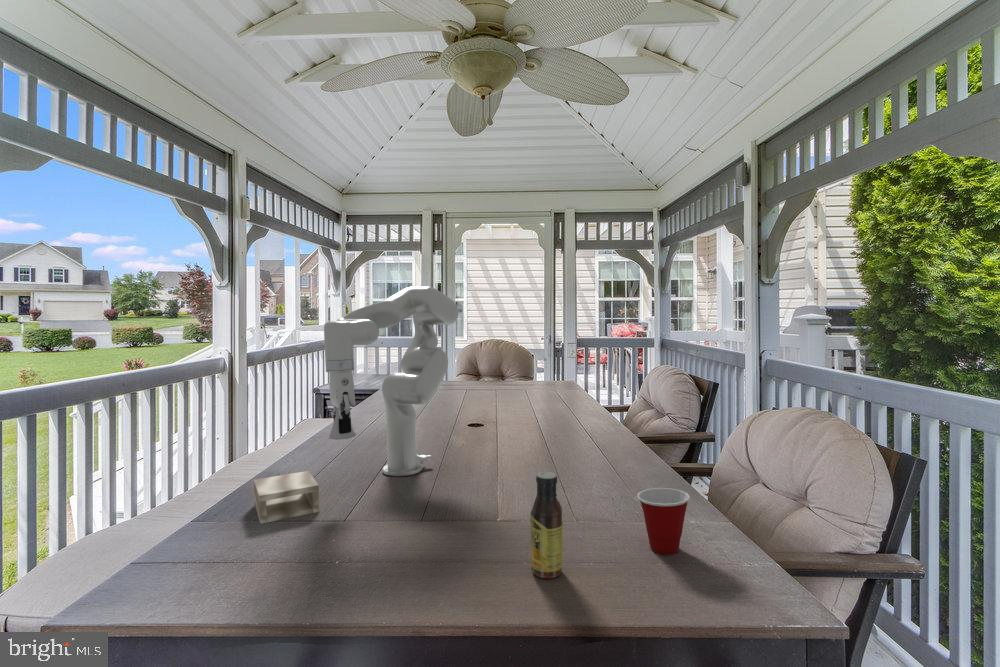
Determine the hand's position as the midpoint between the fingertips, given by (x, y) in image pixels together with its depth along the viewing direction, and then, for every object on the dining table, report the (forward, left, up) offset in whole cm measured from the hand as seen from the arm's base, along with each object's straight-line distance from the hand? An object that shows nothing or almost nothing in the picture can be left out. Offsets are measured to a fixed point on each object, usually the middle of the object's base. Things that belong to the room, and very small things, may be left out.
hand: (342, 429), depth 144 cm
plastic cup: (-51, +69, -19) cm, 88 cm away
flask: (0, 0, -2) cm, 2 cm away
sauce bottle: (-24, +64, -19) cm, 71 cm away
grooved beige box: (+15, 0, -19) cm, 24 cm away
